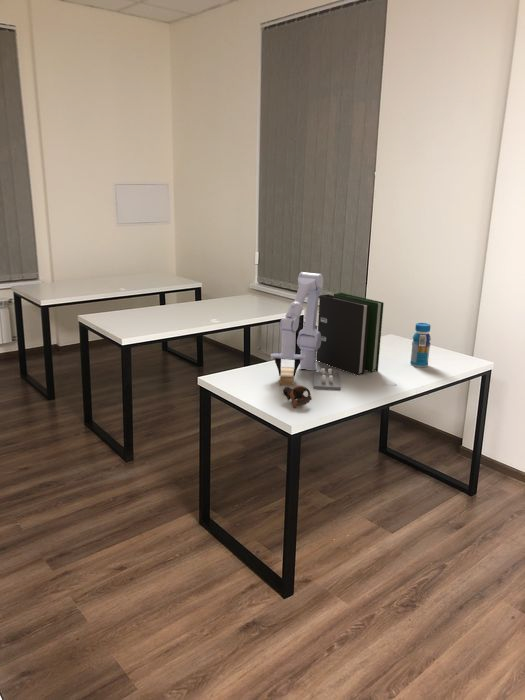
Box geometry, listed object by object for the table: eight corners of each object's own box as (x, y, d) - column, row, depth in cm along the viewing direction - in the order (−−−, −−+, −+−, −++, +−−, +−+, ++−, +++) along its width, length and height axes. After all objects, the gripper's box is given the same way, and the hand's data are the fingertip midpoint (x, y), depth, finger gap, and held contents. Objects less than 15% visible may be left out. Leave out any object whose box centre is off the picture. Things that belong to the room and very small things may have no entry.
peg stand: (313, 373, 261) (313, 364, 260) (338, 375, 260) (338, 366, 259) (313, 388, 242) (314, 379, 241) (340, 390, 241) (341, 380, 240)
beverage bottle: (406, 364, 279) (410, 323, 274) (416, 361, 285) (420, 321, 279) (421, 368, 273) (425, 327, 268) (431, 365, 279) (436, 324, 273)
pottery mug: (313, 402, 228) (316, 388, 222) (303, 419, 222) (306, 405, 216) (286, 390, 231) (288, 376, 225) (275, 406, 225) (277, 393, 219)
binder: (378, 371, 268) (384, 302, 259) (356, 376, 259) (361, 305, 251) (337, 356, 289) (341, 292, 280) (315, 361, 280) (318, 295, 271)
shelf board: (281, 374, 259) (281, 366, 258) (293, 374, 259) (294, 367, 258) (279, 384, 245) (280, 376, 245) (292, 385, 245) (293, 377, 244)
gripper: (270, 346, 245) (269, 377, 248) (305, 348, 244) (303, 379, 247) (271, 342, 251) (270, 372, 255) (305, 344, 250) (304, 374, 254)
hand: (287, 375), depth 252 cm, fingers closed on shelf board, 5 cm apart
